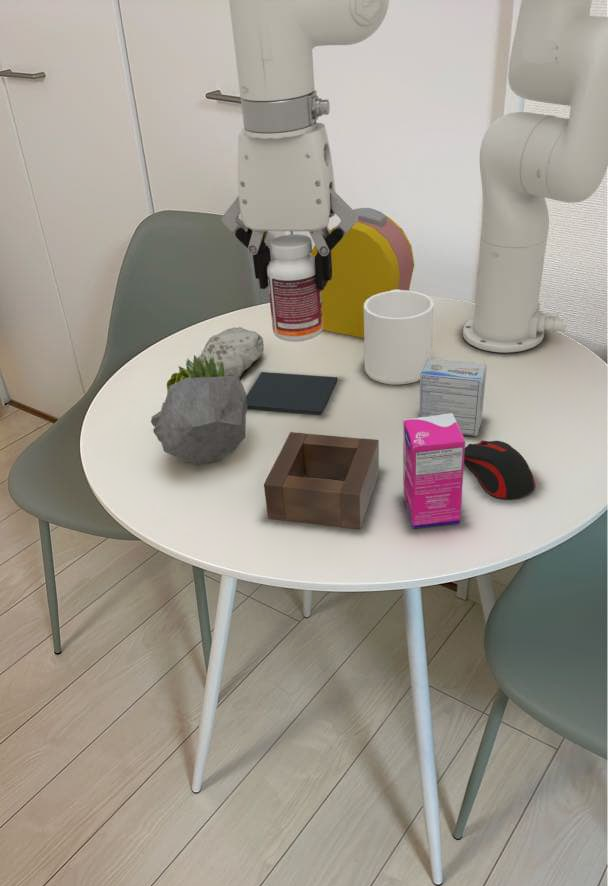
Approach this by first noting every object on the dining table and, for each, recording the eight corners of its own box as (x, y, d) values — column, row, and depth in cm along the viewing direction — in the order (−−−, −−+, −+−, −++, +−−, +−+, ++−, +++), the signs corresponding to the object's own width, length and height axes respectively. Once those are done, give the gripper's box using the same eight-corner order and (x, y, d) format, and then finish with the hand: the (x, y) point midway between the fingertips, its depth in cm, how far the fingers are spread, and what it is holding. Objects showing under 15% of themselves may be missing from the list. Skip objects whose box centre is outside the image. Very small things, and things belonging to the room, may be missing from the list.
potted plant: (143, 464, 94) (124, 382, 102) (224, 489, 102) (201, 412, 110) (198, 399, 87) (173, 317, 95) (279, 431, 96) (250, 354, 104)
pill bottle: (333, 333, 92) (329, 240, 85) (291, 348, 89) (283, 254, 82) (304, 318, 96) (298, 228, 89) (263, 332, 93) (253, 241, 86)
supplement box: (401, 499, 90) (402, 417, 83) (449, 494, 90) (455, 411, 83) (410, 530, 86) (412, 445, 78) (461, 524, 86) (469, 439, 78)
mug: (434, 383, 111) (437, 317, 104) (365, 386, 111) (364, 321, 105) (425, 345, 120) (428, 281, 113) (363, 348, 121) (361, 285, 114)
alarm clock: (414, 323, 126) (417, 209, 114) (392, 343, 121) (393, 226, 109) (336, 309, 133) (332, 199, 121) (313, 327, 128) (305, 215, 116)
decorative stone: (202, 349, 124) (197, 321, 121) (267, 347, 123) (264, 318, 120) (189, 386, 115) (183, 356, 112) (259, 384, 114) (256, 354, 111)
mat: (337, 380, 113) (337, 377, 113) (321, 415, 106) (321, 411, 106) (262, 375, 116) (261, 371, 116) (241, 408, 109) (240, 404, 109)
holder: (378, 473, 95) (378, 439, 91) (360, 529, 86) (359, 494, 83) (293, 464, 97) (290, 431, 94) (267, 518, 89) (263, 484, 86)
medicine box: (482, 420, 102) (488, 362, 96) (477, 438, 99) (482, 379, 93) (424, 414, 104) (427, 356, 99) (417, 430, 101) (419, 372, 96)
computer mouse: (496, 445, 97) (499, 418, 95) (544, 491, 89) (549, 463, 87) (453, 457, 96) (454, 430, 93) (498, 505, 88) (501, 477, 85)
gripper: (369, 102, 78) (372, 274, 89) (212, 108, 82) (235, 271, 93) (355, 120, 72) (360, 300, 84) (187, 125, 76) (215, 296, 88)
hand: (294, 283), depth 89 cm, fingers closed on pill bottle, 6 cm apart
